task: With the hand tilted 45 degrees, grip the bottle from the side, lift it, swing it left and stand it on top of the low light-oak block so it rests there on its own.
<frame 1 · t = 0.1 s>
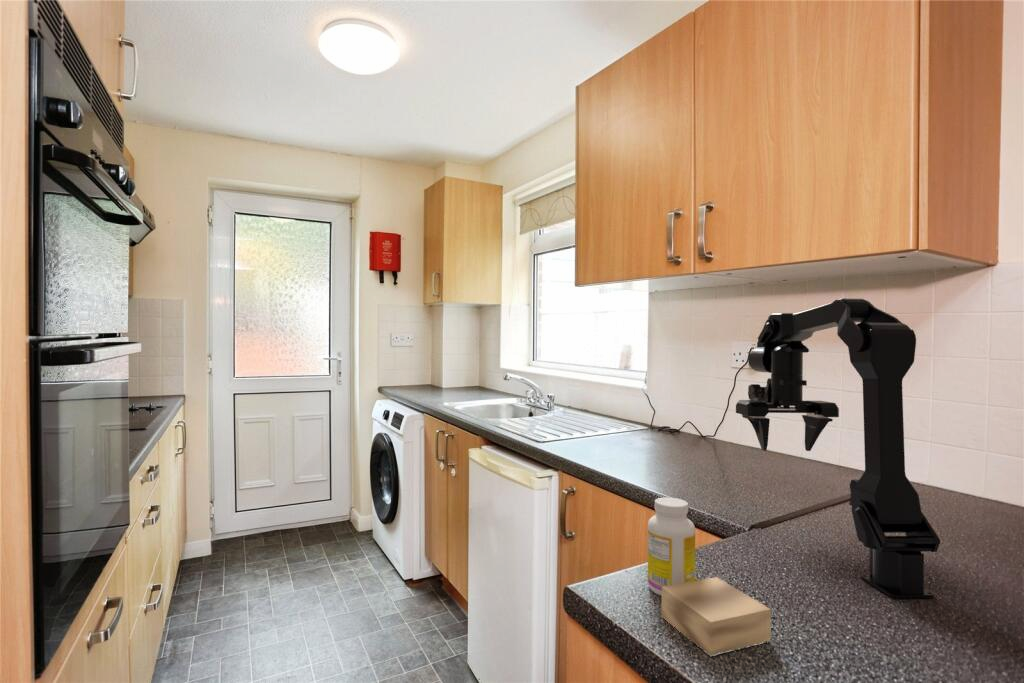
hand: (785, 450, 104), 15 cm above the worktop, tool pointing down, fingers open, 9 cm apart
supplement bottle: (670, 591, 74), on the worktop
oak block: (713, 629, 64), on the worktop
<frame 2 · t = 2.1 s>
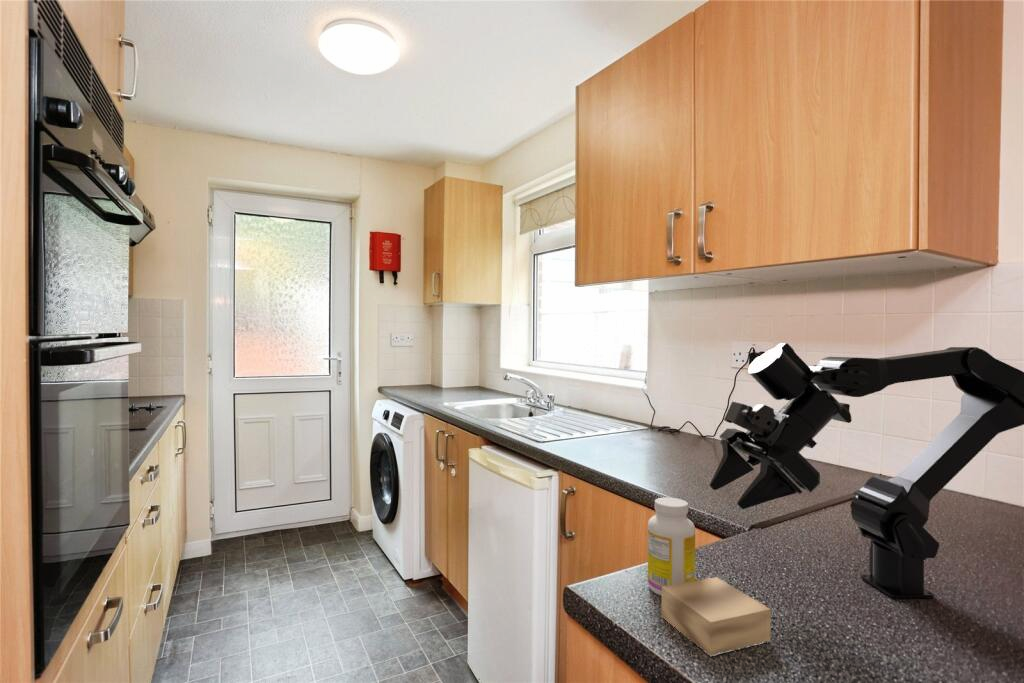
hand: (724, 496, 75), 13 cm above the worktop, tool tilted 45°, fingers open, 9 cm apart
nothing on the worktop moved.
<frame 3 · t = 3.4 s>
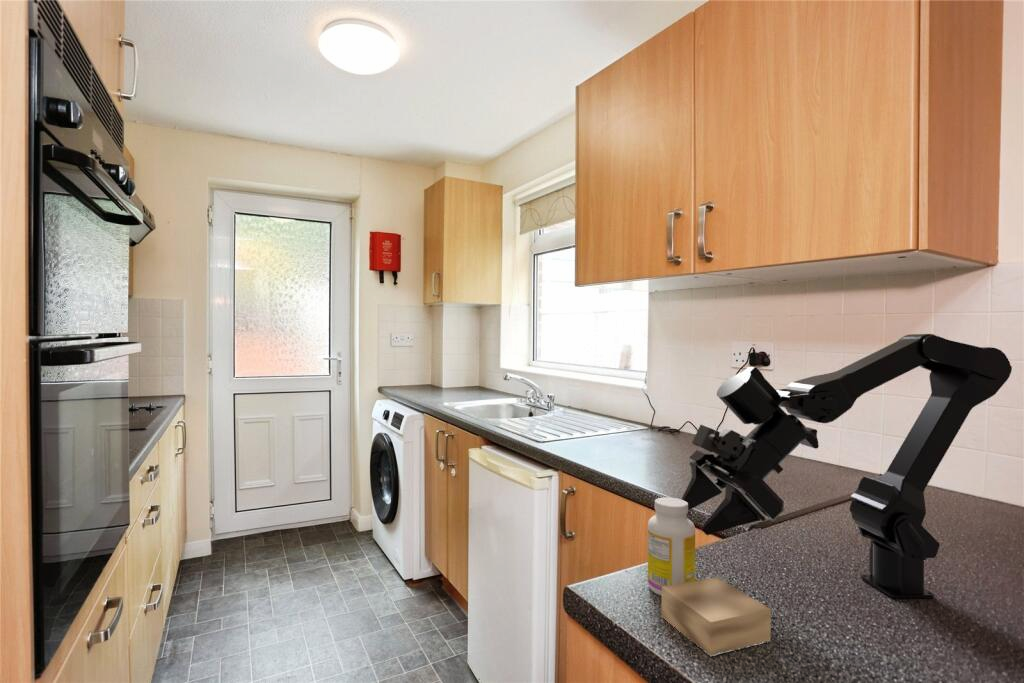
hand: (690, 520, 74), 10 cm above the worktop, tool tilted 45°, fingers open, 9 cm apart
nothing on the worktop moved.
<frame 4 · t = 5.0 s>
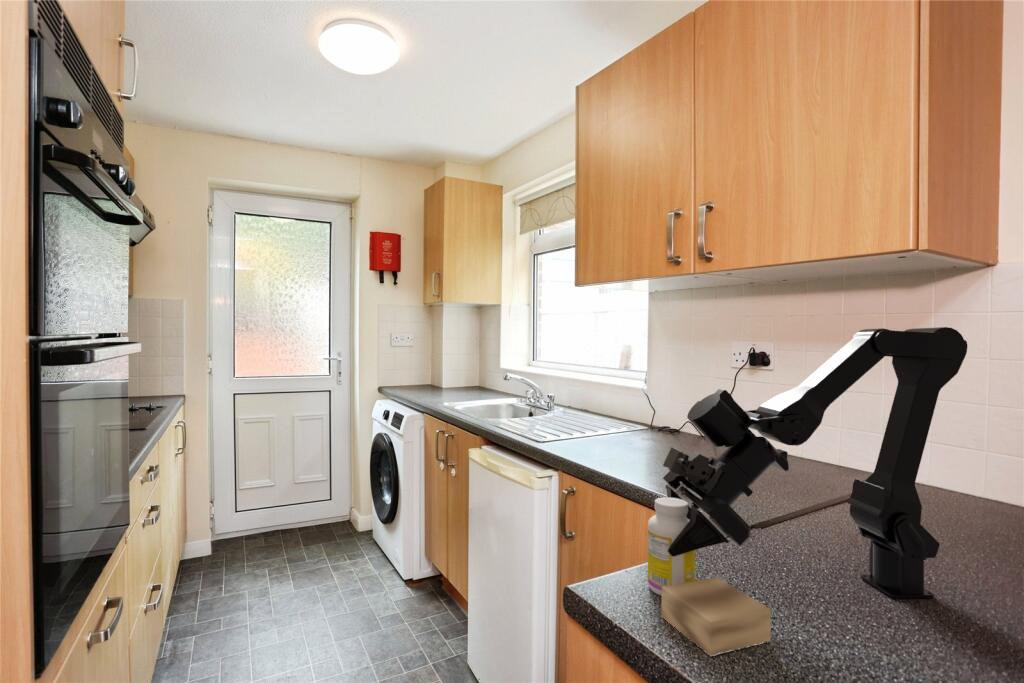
hand: (661, 544, 74), 7 cm above the worktop, tool tilted 45°, fingers closed on supplement bottle, 6 cm apart
supplement bottle: (670, 591, 74), on the worktop, touching gripper
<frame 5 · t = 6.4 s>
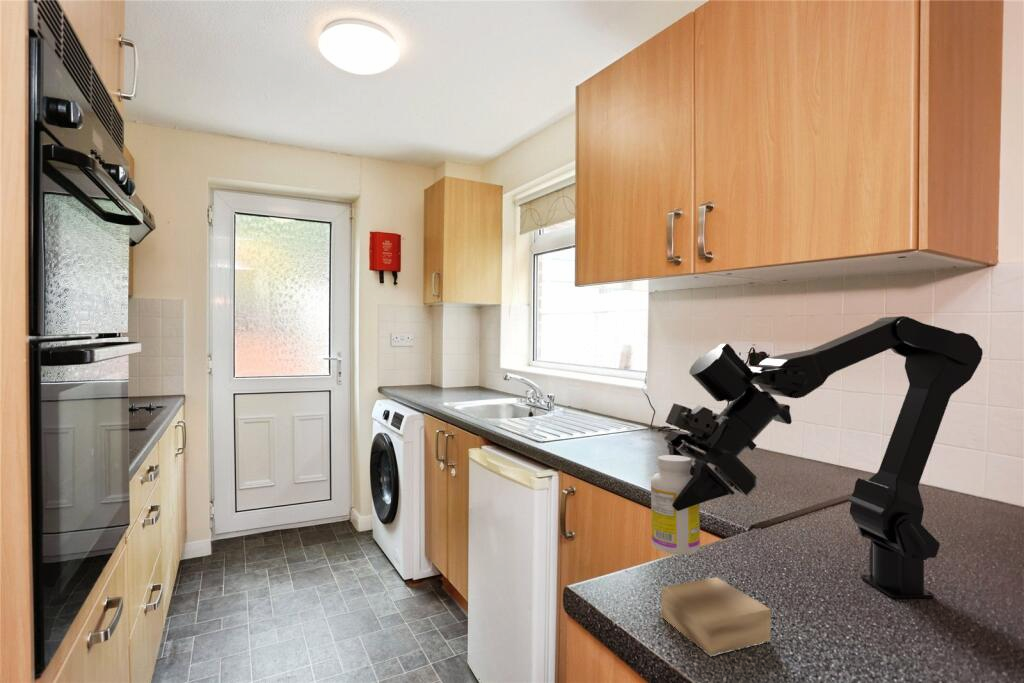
hand: (665, 500, 73), 13 cm above the worktop, tool tilted 45°, fingers closed on supplement bottle, 6 cm apart
supplement bottle: (675, 548, 73), point 6 cm above the worktop, touching gripper
when the fingers open (11 cm above the worktop, at t = 8.1 s): supplement bottle stays where it is, resting on oak block.
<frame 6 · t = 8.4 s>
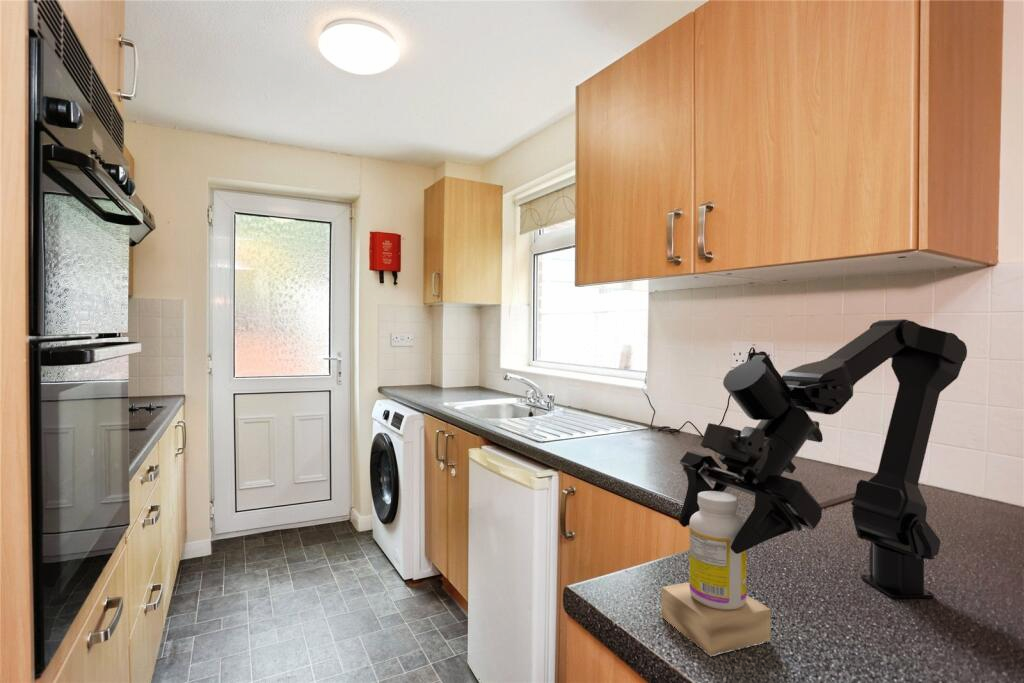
hand: (705, 537, 63), 12 cm above the worktop, tool tilted 45°, fingers open, 9 cm apart
supplement bottle: (716, 600, 63), point 4 cm above the worktop, touching oak block
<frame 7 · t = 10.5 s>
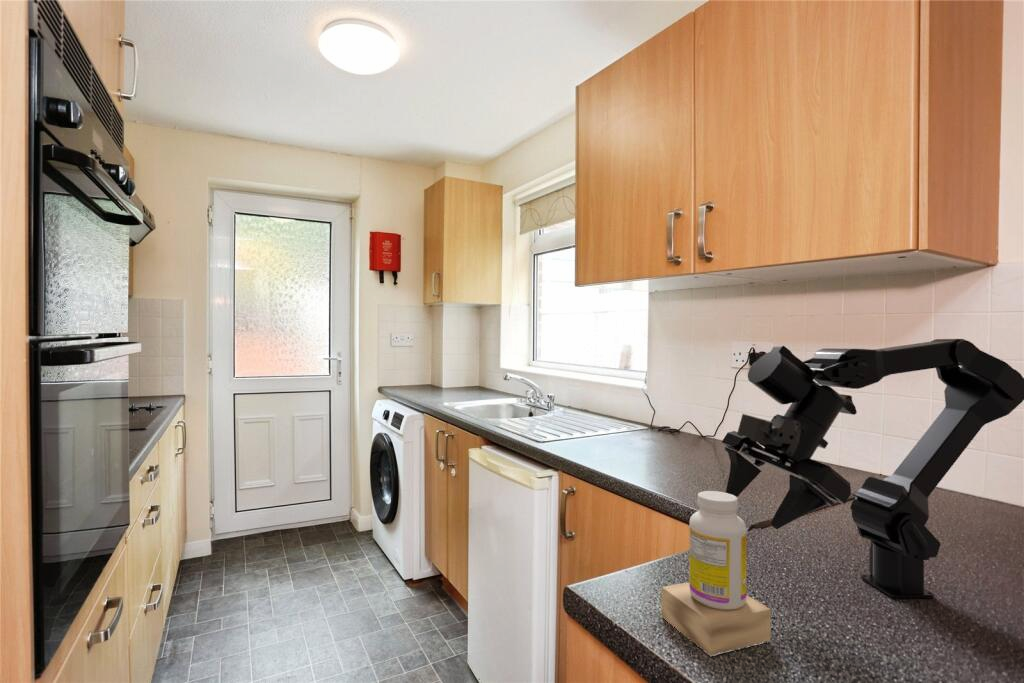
hand: (749, 513, 72), 12 cm above the worktop, tool tilted 35°, fingers open, 9 cm apart
nothing on the worktop moved.
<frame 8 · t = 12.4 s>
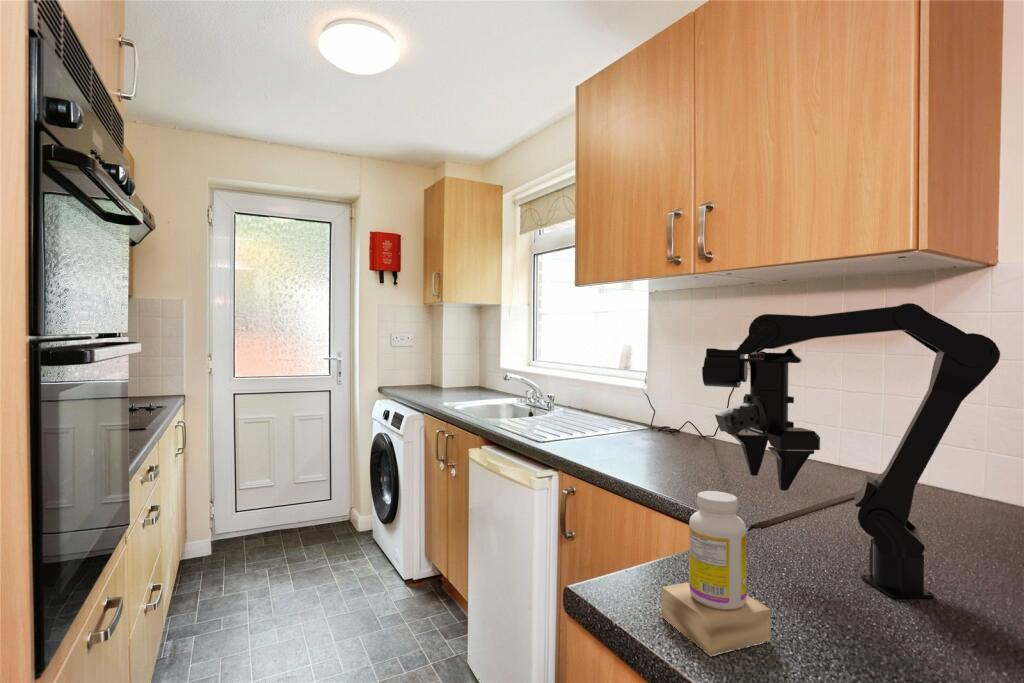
hand: (768, 482, 85), 13 cm above the worktop, tool pointing down, fingers open, 9 cm apart
nothing on the worktop moved.
at the end: supplement bottle 0.4 cm from the oak block (horizontally); supplement bottle point 3.8 cm above the worktop; supplement bottle tilted 0° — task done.
